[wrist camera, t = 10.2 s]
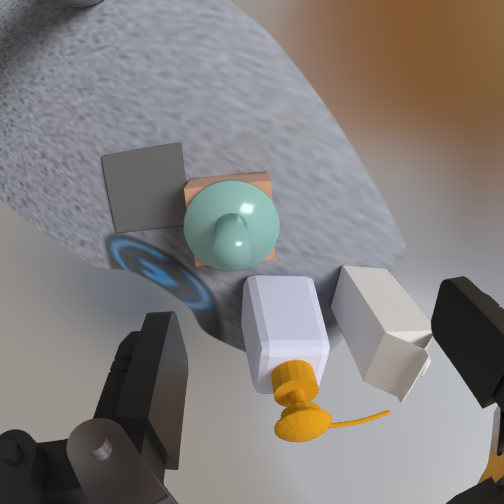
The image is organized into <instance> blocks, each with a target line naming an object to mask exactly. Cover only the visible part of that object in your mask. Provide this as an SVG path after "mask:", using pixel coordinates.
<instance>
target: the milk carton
mask: <svg viewBox="0 0 504 504" xmlns="http://www.w3.org/2000/svg"><path fill="white" fill-rule="evenodd" d="M331 309H332V312H333V314H334V316H335V318H336V320H337V322H338V325H339V327H340V329H341V331H342V333H343V336H344V338H345V340H346V342H347V344H348V347H349V349H350V351H351V353H352V356H353V358H354V360H355V362H356V365H357V367H358V369H359V372H360V374H361V376H362V378H363V381H365V382H367V383H369V384H371V385H373V386H375V387H377V388H380V389H382V390H384V391H386V392H388V393H390V394H393V395H395V396H397V397H398V399H399V401H400V403H403V401H404V400H405V398H406V396H407V395H408V393H409V392H410V390H411V388H412V387H413V385H414V383H415V381H416V380H417V378H418V377H419V376H423V374H424V373H425V371H426V369H427V368H428V366H429V364H430V362H431V359H429V357H430V355H429V354H428V352H427V351H426V350H427V348H428V346H429V344H430V342H431V340H432V338H433V335H432V331H431V323H430V322H429V320H428V319H427V318H426V317H425V316H424V314H423V313H422V312H421V310H420V309H419V308H418V307H417V305H416V304H415V303H414V302H413V301H412V299H411V298H410V297H409V296H408V295H407V293H406V292H405V291H404V290H403V288H402V287H401V286H400V285H399V284H398V283H397V281H396V280H395V279H394V278H393V277H392V275H391V274H390V273H389V272H388V271H387V270H386V269H383V268H370V267H357V266H344V265H343V266H342V268H341V272H340V275H339V279H338V283H337V286H336V290H335V293H334V297H333V300H332V304H331Z"/></svg>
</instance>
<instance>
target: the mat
mask: <svg viewBox="0 0 504 504" xmlns="http://www.w3.org/2000/svg"><path fill="white" fill-rule="evenodd" d="M102 162H103V168H104V174H105V179H106V185H107V190H108V195H109V200H110V205H111V210H112V215H113V219H114V224H115V228H116V233H119V232H127V231H135V230H143V229H152V228H161V227H170V226H179V225H184V218H185V214H186V211H187V207H186V200H185V193H184V188H185V186H186V178H185V170H184V162H183V154H182V145H181V143H174V144H167V145H160V146H154V147H148V148H142V149H136V150H131V151H125V152H120V153H115V154H110V155H105V156H102Z"/></svg>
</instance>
